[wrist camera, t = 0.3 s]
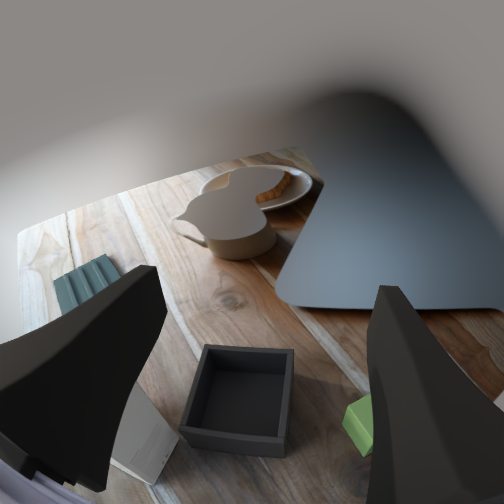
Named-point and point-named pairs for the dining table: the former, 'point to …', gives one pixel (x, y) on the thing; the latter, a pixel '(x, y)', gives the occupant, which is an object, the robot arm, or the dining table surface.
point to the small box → (142, 439)
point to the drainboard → (84, 282)
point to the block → (360, 424)
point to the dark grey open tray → (240, 401)
